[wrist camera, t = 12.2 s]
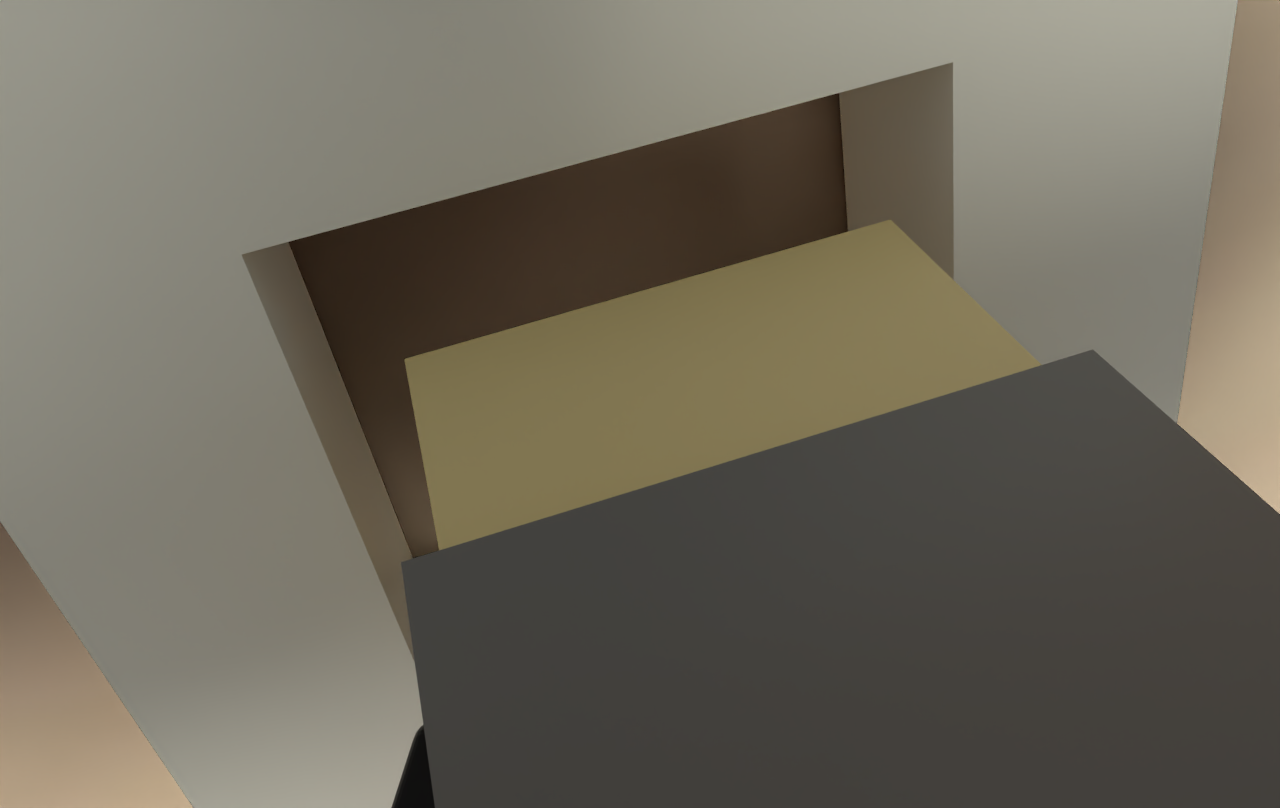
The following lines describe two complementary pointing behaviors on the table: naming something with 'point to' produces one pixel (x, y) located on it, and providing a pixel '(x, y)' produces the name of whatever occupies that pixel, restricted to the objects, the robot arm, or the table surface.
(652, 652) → the plug
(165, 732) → the socket plate
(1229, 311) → the table surface
